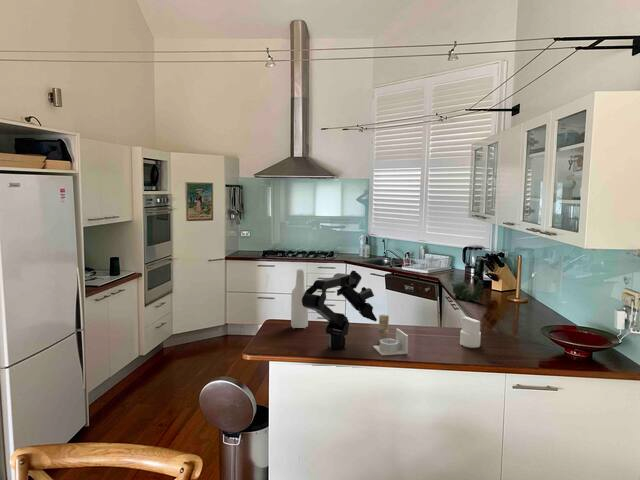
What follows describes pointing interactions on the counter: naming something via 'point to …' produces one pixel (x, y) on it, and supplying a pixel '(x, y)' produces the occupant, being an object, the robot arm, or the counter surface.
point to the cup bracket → (393, 344)
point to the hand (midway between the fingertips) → (373, 318)
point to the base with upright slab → (470, 332)
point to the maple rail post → (383, 327)
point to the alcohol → (299, 303)
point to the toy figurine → (465, 293)
